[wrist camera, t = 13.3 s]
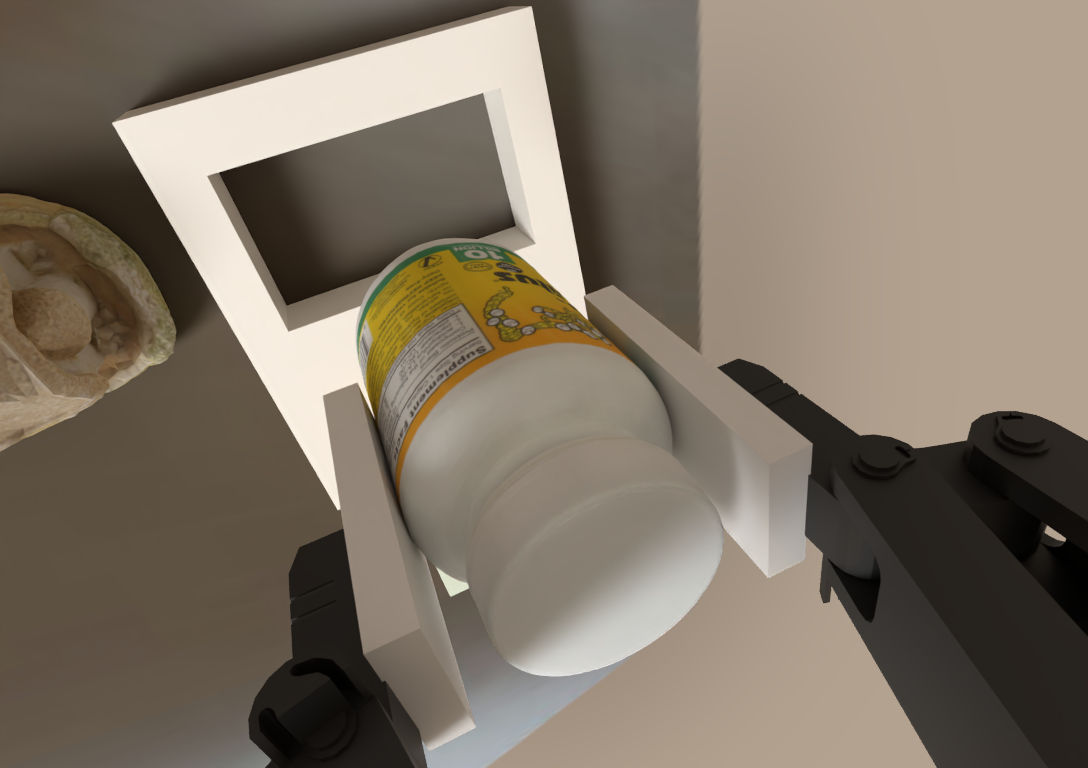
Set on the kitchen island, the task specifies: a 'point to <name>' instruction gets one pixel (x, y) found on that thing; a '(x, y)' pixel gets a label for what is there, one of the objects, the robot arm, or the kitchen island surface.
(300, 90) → the frame
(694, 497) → the supplement bottle
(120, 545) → the kitchen island surface
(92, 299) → the ceramic model
